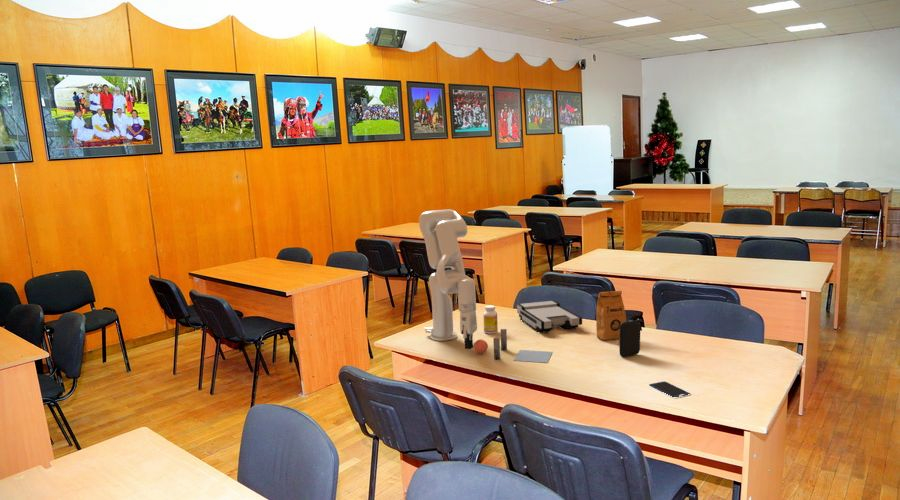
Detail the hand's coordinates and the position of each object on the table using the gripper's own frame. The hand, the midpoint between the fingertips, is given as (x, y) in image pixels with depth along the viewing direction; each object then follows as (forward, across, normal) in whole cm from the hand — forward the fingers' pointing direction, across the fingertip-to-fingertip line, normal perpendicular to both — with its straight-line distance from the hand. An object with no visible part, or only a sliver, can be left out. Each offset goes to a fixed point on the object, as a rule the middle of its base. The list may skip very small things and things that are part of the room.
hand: (468, 348), depth 263 cm
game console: (+2, +50, -26) cm, 56 cm away
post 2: (+2, +7, -14) cm, 16 cm away
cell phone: (+4, -24, -81) cm, 85 cm away
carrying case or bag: (+3, +11, -67) cm, 68 cm away
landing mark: (+2, +1, -28) cm, 28 cm away
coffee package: (+2, +34, -57) cm, 66 cm away
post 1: (+2, -6, -14) cm, 15 cm away
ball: (-1, 0, -5) cm, 5 cm away
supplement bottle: (+2, +32, -1) cm, 32 cm away
